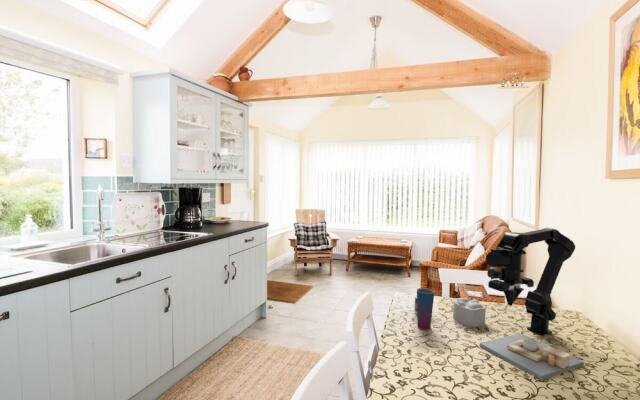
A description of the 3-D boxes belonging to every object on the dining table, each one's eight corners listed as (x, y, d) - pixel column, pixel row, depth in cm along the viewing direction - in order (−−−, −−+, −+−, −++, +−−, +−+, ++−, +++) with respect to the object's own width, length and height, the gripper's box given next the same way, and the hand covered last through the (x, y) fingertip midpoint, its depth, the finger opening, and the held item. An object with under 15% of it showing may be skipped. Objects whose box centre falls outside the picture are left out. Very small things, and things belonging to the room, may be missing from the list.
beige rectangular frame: (506, 348, 117) (507, 338, 117) (522, 341, 122) (522, 332, 122) (558, 371, 103) (559, 360, 103) (573, 362, 108) (574, 352, 108)
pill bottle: (412, 310, 153) (413, 289, 152) (424, 310, 153) (425, 289, 153) (417, 315, 147) (418, 293, 146) (429, 315, 148) (430, 293, 147)
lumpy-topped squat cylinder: (469, 327, 136) (470, 307, 136) (446, 315, 148) (447, 296, 148) (488, 324, 140) (489, 304, 139) (464, 312, 152) (465, 294, 152)
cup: (433, 331, 131) (435, 294, 131) (415, 329, 133) (417, 292, 132) (431, 324, 138) (433, 288, 137) (414, 322, 140) (416, 287, 139)
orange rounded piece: (550, 363, 108) (550, 354, 108) (555, 365, 106) (556, 356, 106) (547, 364, 107) (547, 355, 107) (552, 366, 106) (552, 357, 106)
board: (519, 336, 130) (520, 322, 129) (583, 365, 110) (584, 349, 109) (479, 346, 121) (480, 332, 120) (541, 379, 101) (542, 363, 100)
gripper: (509, 259, 139) (507, 295, 140) (477, 262, 132) (475, 301, 133) (536, 265, 129) (533, 305, 130) (503, 269, 122) (500, 311, 123)
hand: (509, 305), depth 129 cm, fingers closed
